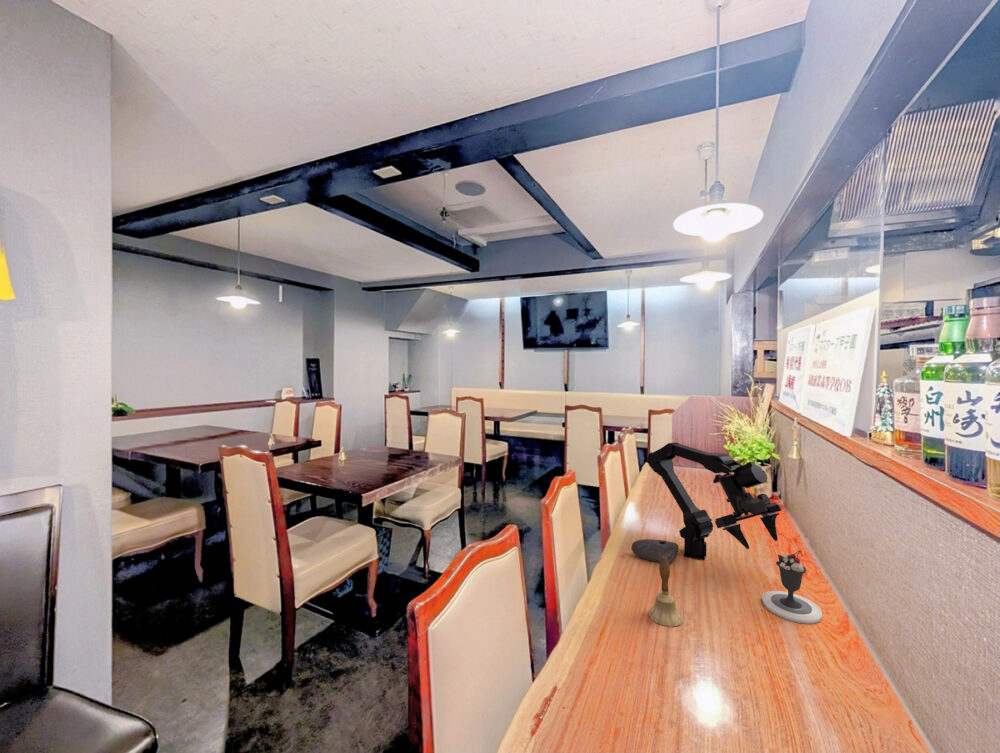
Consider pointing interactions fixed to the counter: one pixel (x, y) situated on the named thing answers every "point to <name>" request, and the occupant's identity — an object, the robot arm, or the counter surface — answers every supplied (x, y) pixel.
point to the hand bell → (665, 601)
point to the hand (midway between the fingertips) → (762, 544)
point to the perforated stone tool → (655, 549)
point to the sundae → (791, 577)
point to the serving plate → (802, 615)
